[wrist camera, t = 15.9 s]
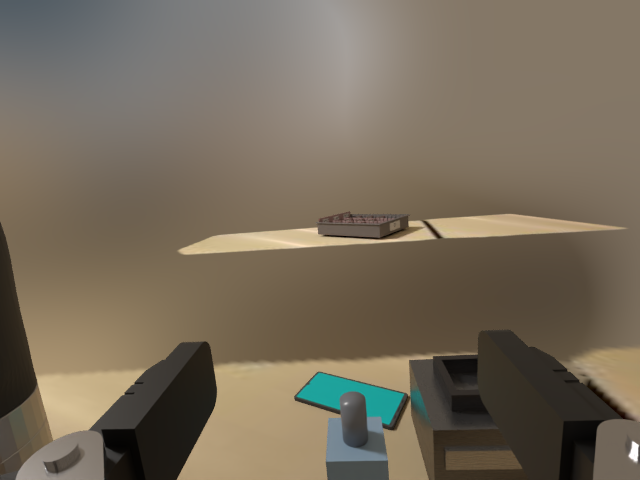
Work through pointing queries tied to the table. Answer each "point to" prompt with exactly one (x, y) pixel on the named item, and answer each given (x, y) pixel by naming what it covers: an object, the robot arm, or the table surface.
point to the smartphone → (330, 388)
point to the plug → (356, 443)
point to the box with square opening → (457, 423)
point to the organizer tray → (362, 224)
